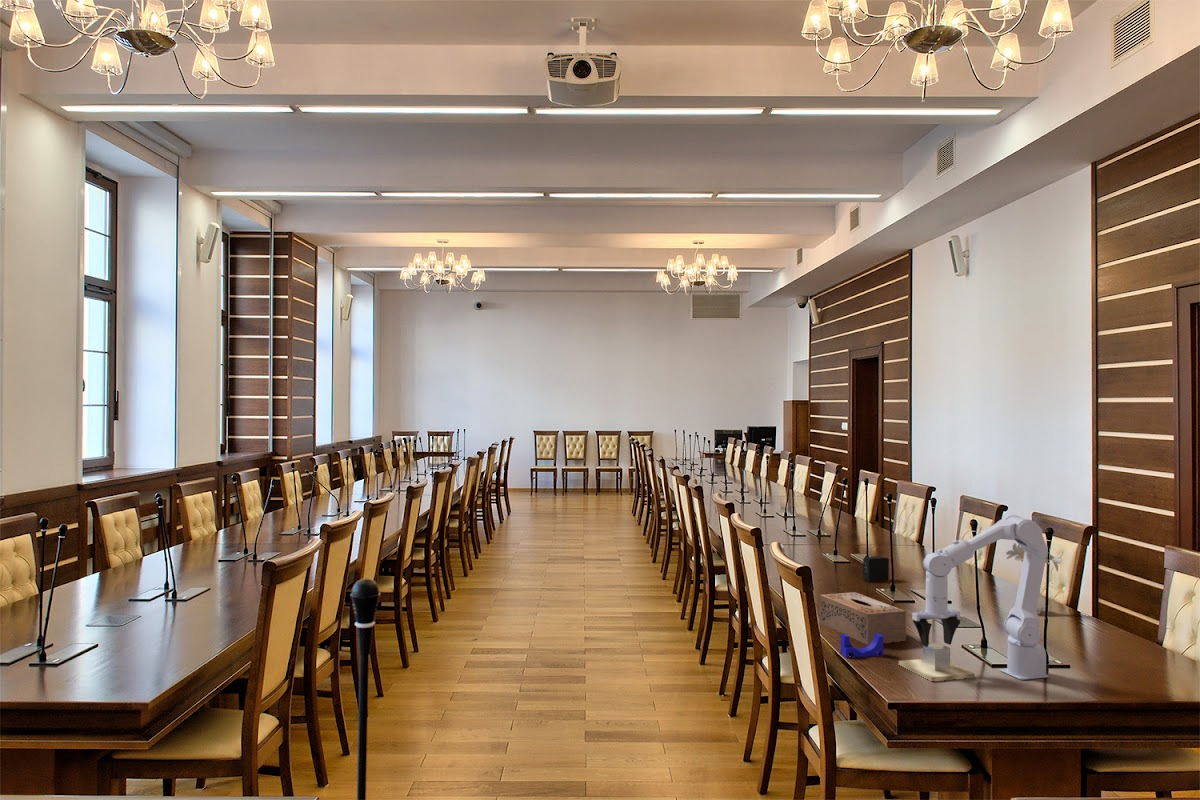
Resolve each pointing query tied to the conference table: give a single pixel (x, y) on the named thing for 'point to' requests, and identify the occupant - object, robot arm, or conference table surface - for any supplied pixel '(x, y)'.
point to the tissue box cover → (862, 617)
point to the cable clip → (870, 650)
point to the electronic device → (876, 568)
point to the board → (933, 675)
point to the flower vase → (1056, 561)
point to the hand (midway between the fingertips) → (936, 644)
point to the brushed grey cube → (936, 657)
